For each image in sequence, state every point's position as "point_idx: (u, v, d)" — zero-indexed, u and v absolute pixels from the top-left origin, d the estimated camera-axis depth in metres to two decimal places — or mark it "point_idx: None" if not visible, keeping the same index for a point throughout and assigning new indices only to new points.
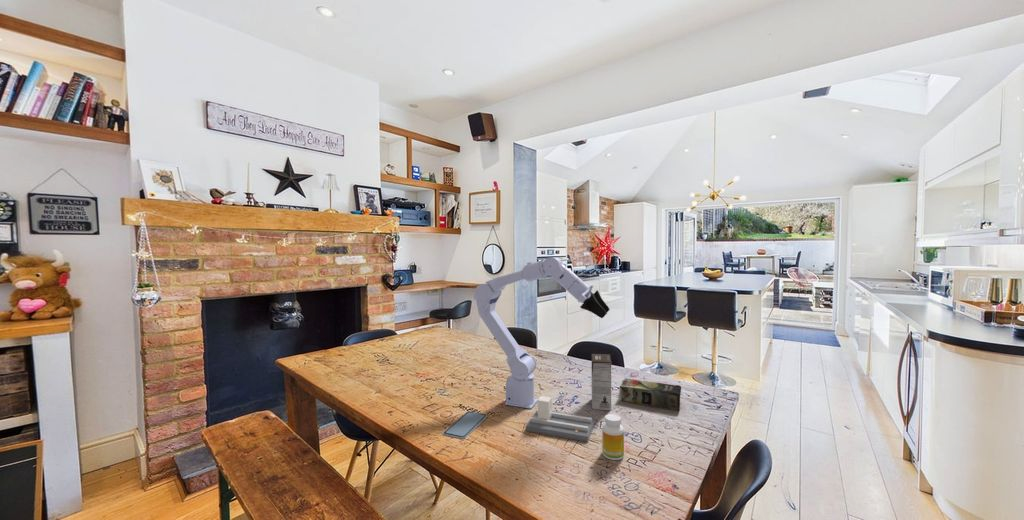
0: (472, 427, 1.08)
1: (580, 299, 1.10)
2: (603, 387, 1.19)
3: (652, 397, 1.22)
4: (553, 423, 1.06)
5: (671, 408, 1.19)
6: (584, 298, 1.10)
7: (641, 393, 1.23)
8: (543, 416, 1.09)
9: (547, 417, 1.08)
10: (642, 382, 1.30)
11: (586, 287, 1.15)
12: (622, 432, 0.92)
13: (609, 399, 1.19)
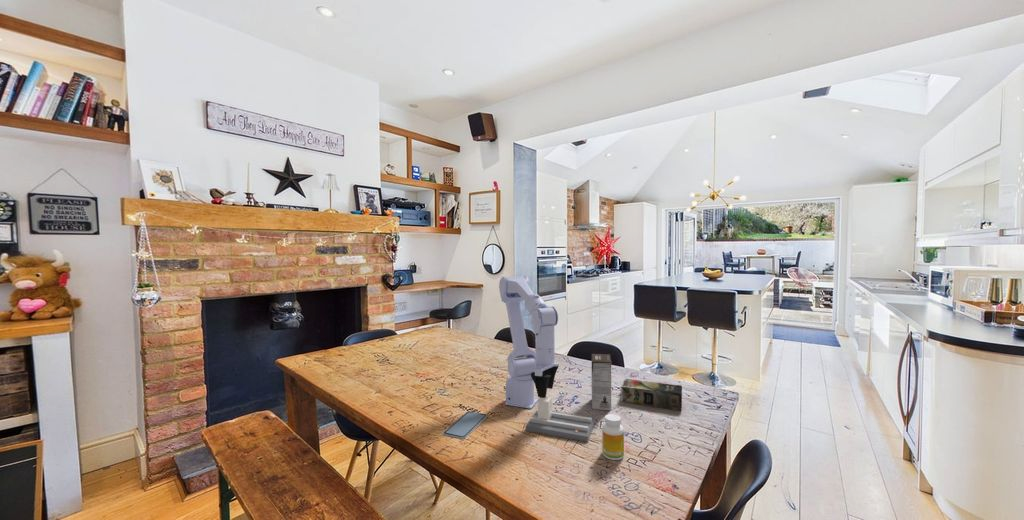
0: (472, 427, 1.08)
1: (536, 371, 1.03)
2: (603, 387, 1.19)
3: (654, 397, 1.22)
4: (553, 423, 1.06)
5: (673, 408, 1.19)
6: (540, 374, 1.03)
7: (643, 393, 1.23)
8: (543, 416, 1.09)
9: (547, 417, 1.08)
10: (643, 382, 1.30)
11: (551, 362, 1.08)
12: (622, 432, 0.92)
13: (609, 399, 1.19)
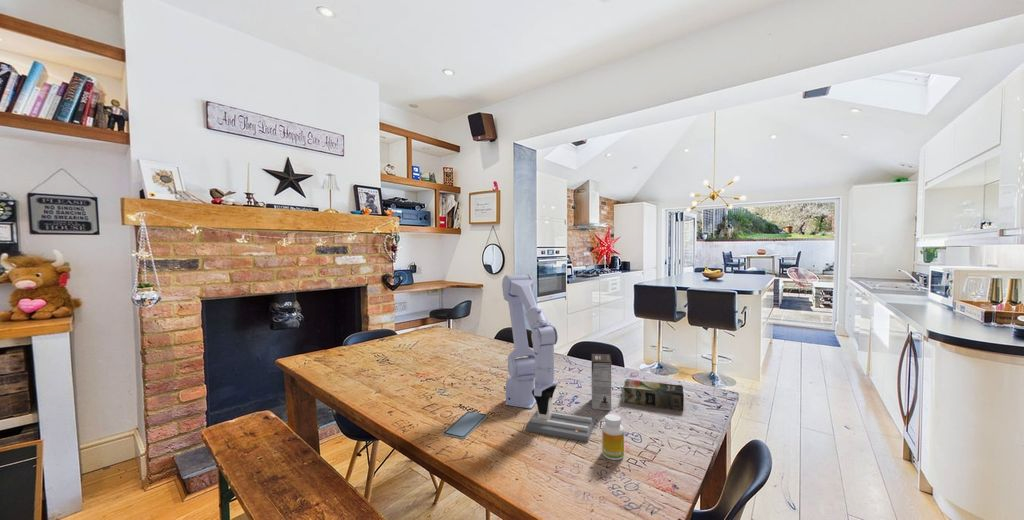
0: (472, 427, 1.08)
1: (535, 391, 1.04)
2: (603, 387, 1.19)
3: (656, 397, 1.21)
4: (553, 423, 1.06)
5: (675, 408, 1.19)
6: (539, 394, 1.03)
7: (645, 393, 1.23)
8: (543, 416, 1.09)
9: (547, 417, 1.08)
10: (644, 383, 1.29)
11: (550, 381, 1.08)
12: (622, 432, 0.92)
13: (609, 399, 1.19)
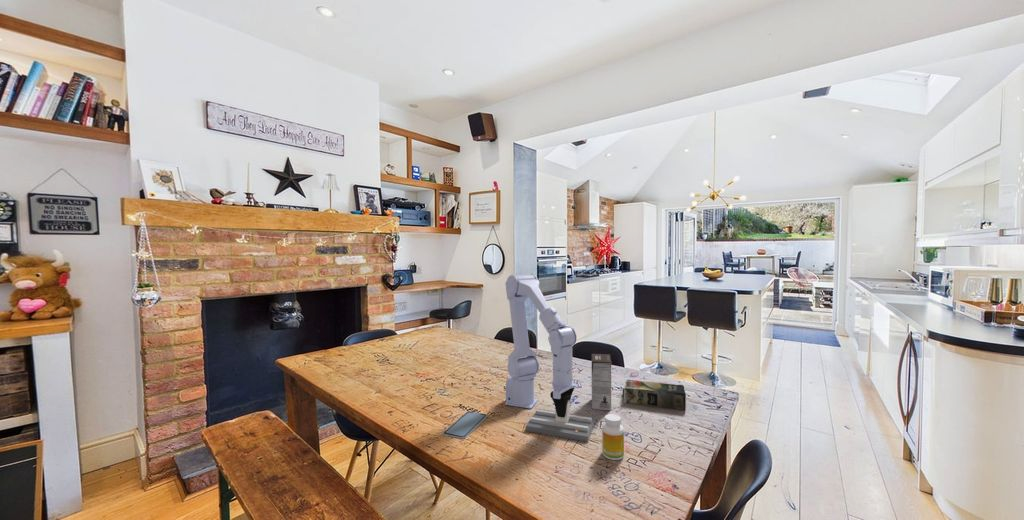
0: (472, 427, 1.08)
1: (554, 394, 1.02)
2: (603, 387, 1.19)
3: (658, 398, 1.21)
4: (553, 423, 1.06)
5: (677, 408, 1.19)
6: (558, 397, 1.01)
7: (647, 394, 1.22)
8: (561, 419, 1.07)
9: (565, 420, 1.06)
10: (645, 383, 1.29)
11: (569, 383, 1.06)
12: (622, 432, 0.92)
13: (609, 399, 1.19)
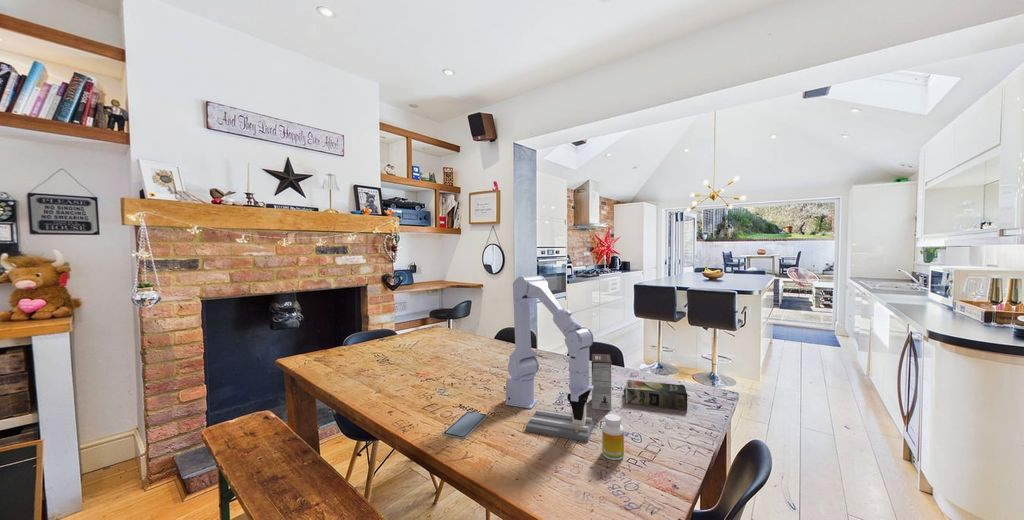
0: (472, 427, 1.08)
1: (572, 397, 1.00)
2: (603, 387, 1.19)
3: (660, 398, 1.21)
4: (553, 423, 1.06)
5: (679, 408, 1.19)
6: (576, 399, 0.99)
7: (648, 394, 1.22)
8: (578, 422, 1.05)
9: (582, 423, 1.04)
10: (646, 383, 1.29)
11: (586, 385, 1.04)
12: (622, 432, 0.92)
13: (609, 399, 1.19)
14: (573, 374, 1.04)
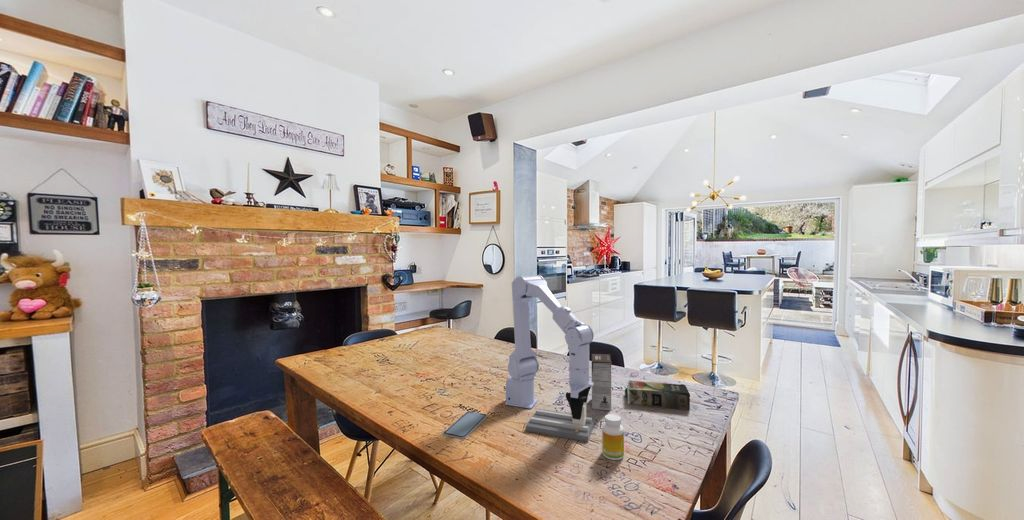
0: (472, 427, 1.08)
1: (572, 393, 1.00)
2: (603, 387, 1.19)
3: (662, 398, 1.21)
4: (553, 423, 1.06)
5: (681, 408, 1.19)
6: (576, 396, 0.99)
7: (651, 395, 1.22)
8: (578, 422, 1.05)
9: (582, 423, 1.04)
10: (648, 383, 1.29)
11: (586, 382, 1.04)
12: (622, 432, 0.92)
13: (609, 399, 1.19)
14: (573, 371, 1.04)
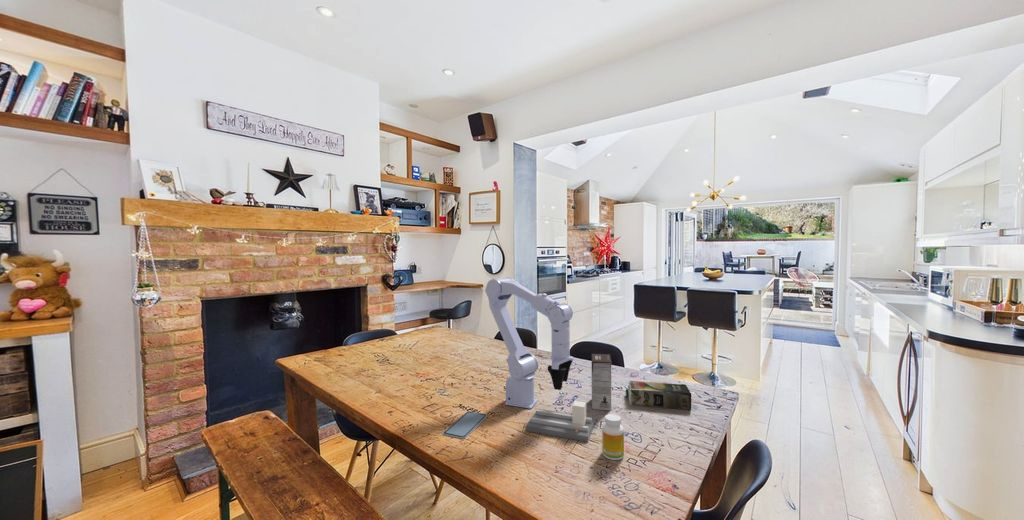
0: (472, 427, 1.08)
1: (553, 365, 1.10)
2: (603, 387, 1.19)
3: (664, 398, 1.21)
4: (553, 423, 1.06)
5: (683, 408, 1.19)
6: (556, 367, 1.09)
7: (653, 395, 1.22)
8: (578, 422, 1.05)
9: (582, 423, 1.04)
10: (649, 384, 1.28)
11: (567, 356, 1.14)
12: (622, 432, 0.92)
13: (609, 399, 1.19)
14: (554, 346, 1.14)
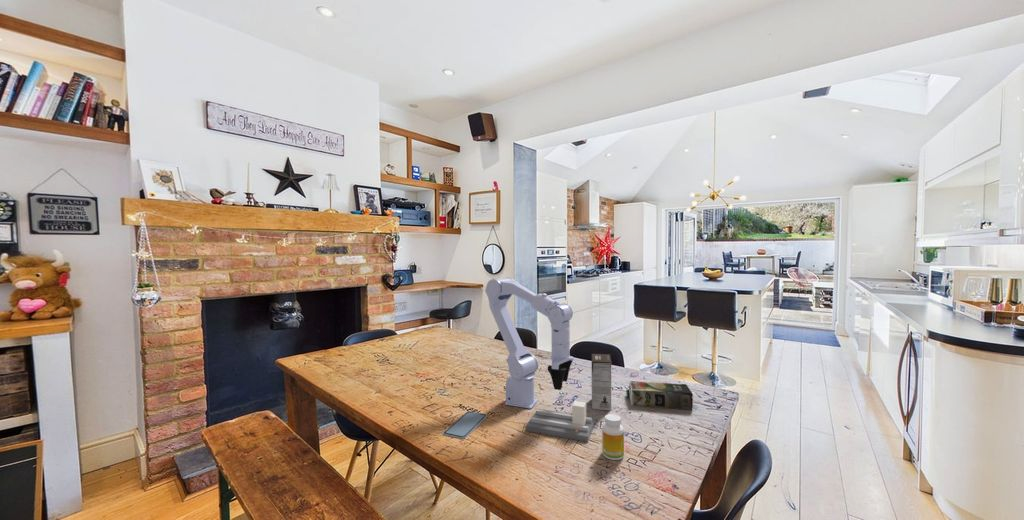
0: (472, 427, 1.08)
1: (553, 365, 1.10)
2: (603, 387, 1.19)
3: (665, 398, 1.20)
4: (553, 423, 1.06)
5: (684, 408, 1.19)
6: (556, 367, 1.09)
7: (654, 395, 1.21)
8: (578, 422, 1.05)
9: (582, 423, 1.04)
10: (649, 384, 1.28)
11: (567, 356, 1.14)
12: (622, 432, 0.92)
13: (609, 399, 1.19)
14: (554, 346, 1.14)
